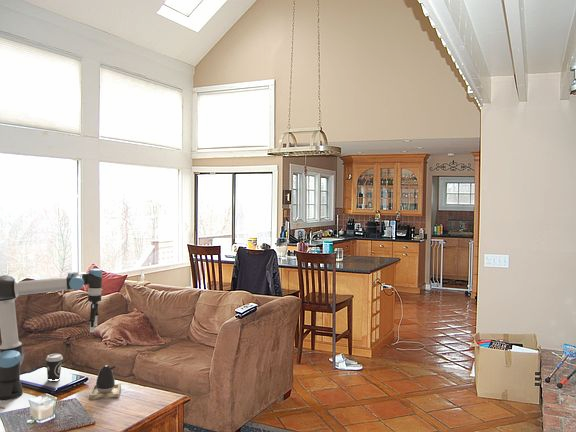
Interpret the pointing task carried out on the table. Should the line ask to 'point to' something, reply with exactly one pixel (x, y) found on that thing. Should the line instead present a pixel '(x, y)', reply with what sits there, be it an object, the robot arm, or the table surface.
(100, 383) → the pump dispenser
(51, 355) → the coffee cup
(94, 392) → the beige flat square tray
